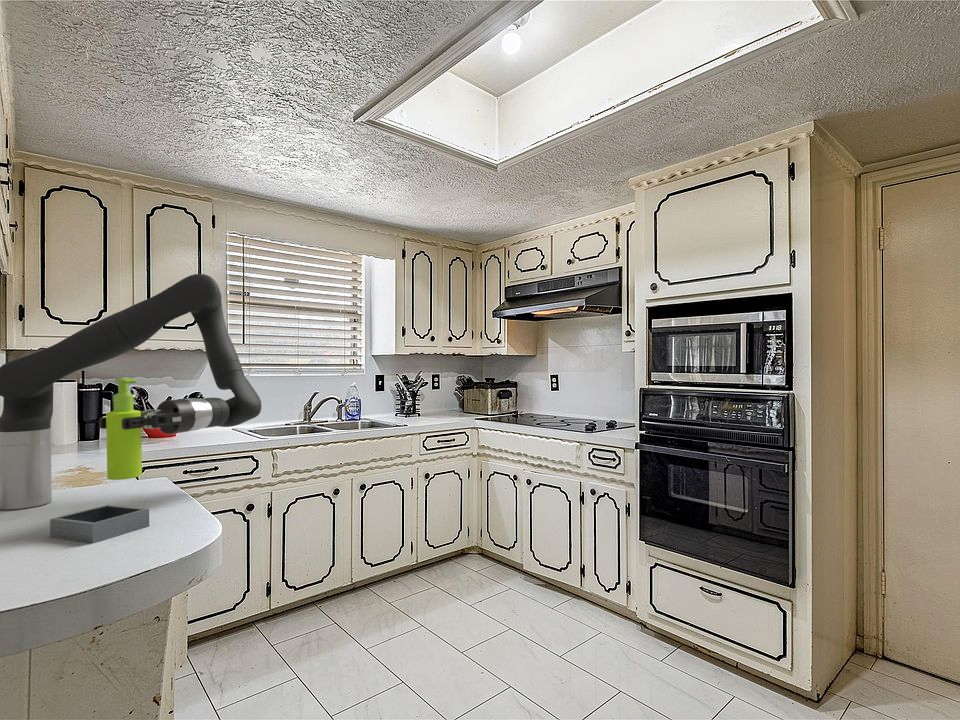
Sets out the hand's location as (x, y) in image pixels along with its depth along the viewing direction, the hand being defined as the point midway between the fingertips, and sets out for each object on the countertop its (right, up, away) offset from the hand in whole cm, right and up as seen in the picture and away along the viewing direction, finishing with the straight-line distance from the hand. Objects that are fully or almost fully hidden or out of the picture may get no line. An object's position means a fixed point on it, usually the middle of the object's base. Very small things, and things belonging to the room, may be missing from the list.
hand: (112, 423), depth 108 cm
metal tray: (+2, -20, -6) cm, 20 cm away
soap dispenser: (+1, -11, +2) cm, 11 cm away
